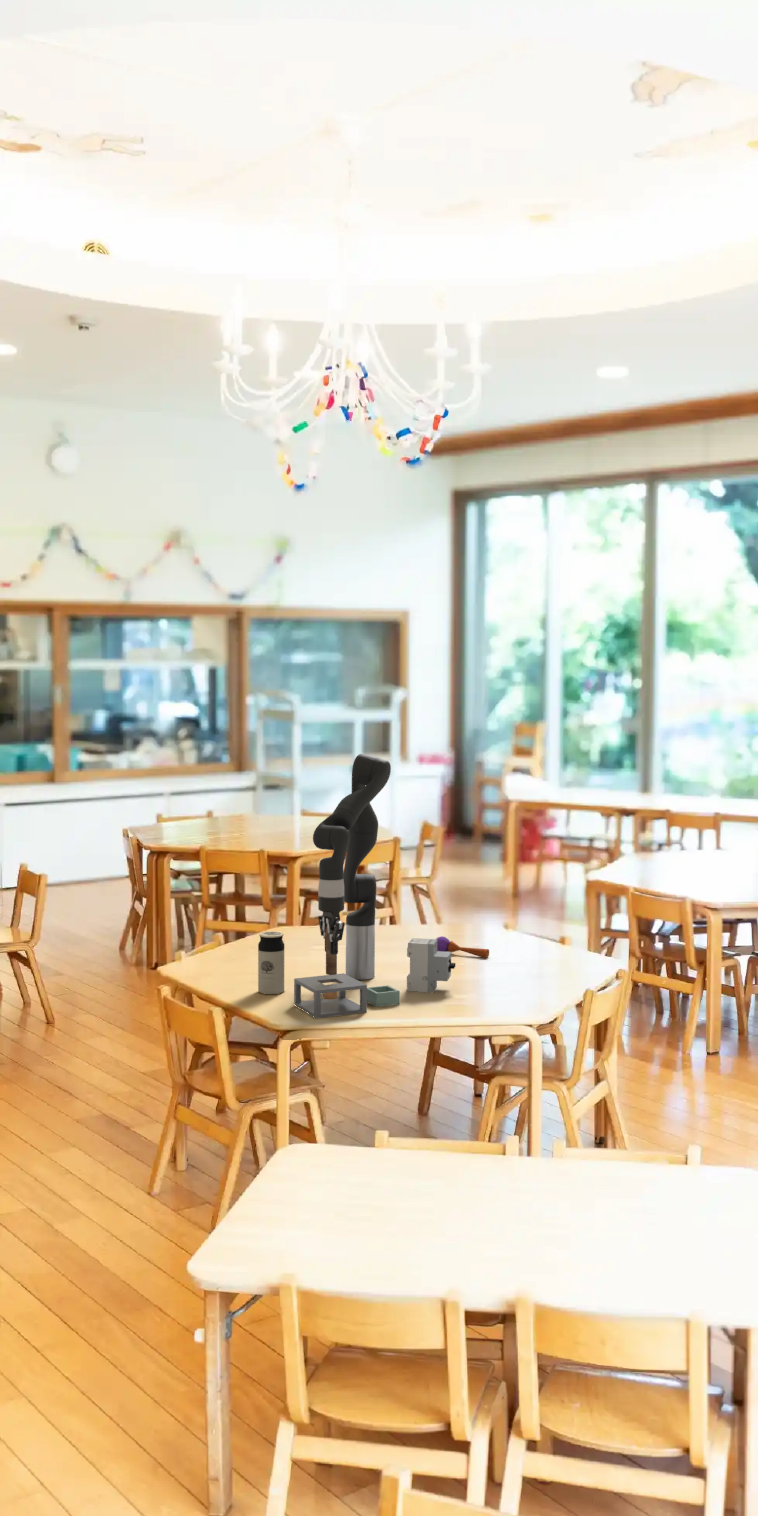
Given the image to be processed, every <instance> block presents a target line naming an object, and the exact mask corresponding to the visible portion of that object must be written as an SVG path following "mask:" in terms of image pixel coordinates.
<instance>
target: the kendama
mask: <svg viewBox="0 0 758 1516" xmlns="http://www.w3.org/2000/svg"><path fill="white" fill-rule="evenodd" d="M436 939H437V951H443V952H451V953H454V952H460V951H461V952H462V953H466V954H470V955H472V956H473V955H474V956H477V957H479V958H483V959H488V958H489V956H490V949H488V948H478V947H477V948H475V947H461V946H459V945H458V944H456V942H454V941H453V940H451V941H450V939H448V938H447V937H446V936H442V935H441V936H438V937H436Z"/></svg>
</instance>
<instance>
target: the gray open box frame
mask: <svg viewBox="0 0 758 1516" xmlns="http://www.w3.org/2000/svg"><path fill="white" fill-rule="evenodd" d="M328 983H332V984H328ZM302 987H303V988H304V989H306V990H308V991H310V992H311V993H313V999H308V1000H302ZM367 988H368V984H366V983H364V982H362V981H360V980H356V979H354V978H352V977H350V976H348V975H346V973H345V972H344V973H342V972H341V973H337V974H335V975H327V974H325V975H323V974H322V975H315V976H306V977H295V978H294V979H293V992H294V994H293V1001H294V1002H293V1005H294V1004H295V1005H296V1006H297V1007H296V1006H295V1007H296V1008H298V1007H299V1008H301V1009H303V1010H304V1011H306V1012H308V1013H309V1014H310V1015H309V1014H308V1013H307V1014H308V1015H309V1016H311V1015H312V1016H311V1017H313V1016H314V1017H315V1019H323V1018H331V1017H339V1016H347V1015H348V1016H349V1015H356V1014H355V1013H357V1014H364V1013H367V1012H368V1002H367ZM355 990H359V1003H357V1002H355V1001H354V1000H351V999H349V998H348V997H346V996H347V995H346V994H347V993H346V992H348V991H355ZM331 992H338V998H337V999H332V1000H328V999H323V998H322V995H323V993H331ZM299 1008H298V1009H299ZM301 1009H300V1010H301ZM303 1010H302V1011H303ZM304 1011H303V1012H304ZM306 1012H305V1013H306ZM314 1017H313V1018H314Z"/></svg>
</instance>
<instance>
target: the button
mask: <svg viewBox="0 0 758 1516" xmlns="http://www.w3.org/2000/svg"><path fill="white" fill-rule="evenodd" d="M338 997H339V992H331V993H322V999H328V1000H332V999H337V998H338Z"/></svg>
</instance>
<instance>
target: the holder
mask: <svg viewBox="0 0 758 1516" xmlns="http://www.w3.org/2000/svg"><path fill="white" fill-rule="evenodd" d="M400 994H401V993H400V990H399V989H397V988H395V987H393V986H390V985H388V984H387V985H379V986H378V985H377V986H369V987H368V986H367V1004H370V1005H372V1006H373V1007H375V1008H379V1007H386V1006H389V1007H390V1006H395V1005H400V1002H401V1001H400V1000H401V999H400V998H401V997H400V996H401V995H400Z"/></svg>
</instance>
